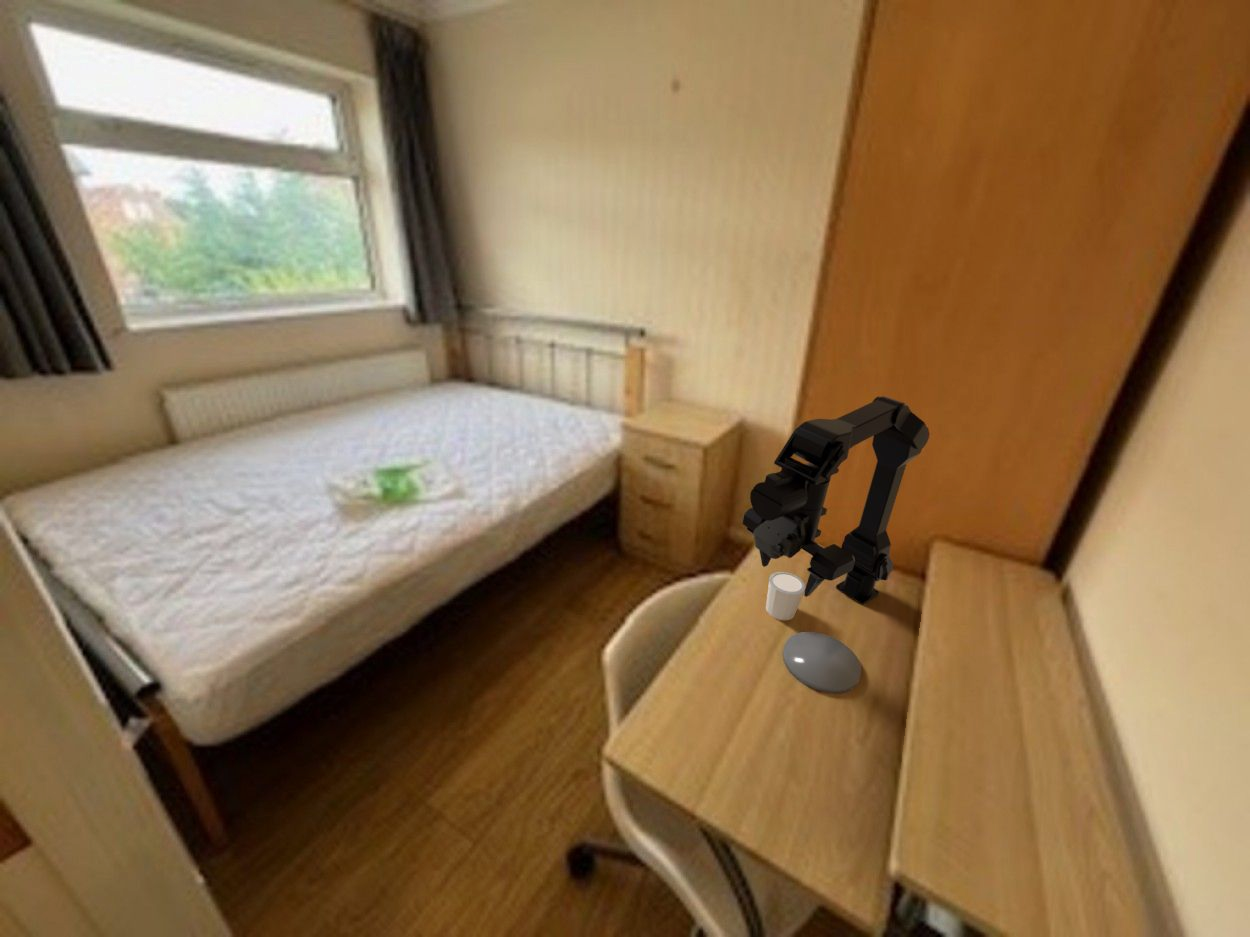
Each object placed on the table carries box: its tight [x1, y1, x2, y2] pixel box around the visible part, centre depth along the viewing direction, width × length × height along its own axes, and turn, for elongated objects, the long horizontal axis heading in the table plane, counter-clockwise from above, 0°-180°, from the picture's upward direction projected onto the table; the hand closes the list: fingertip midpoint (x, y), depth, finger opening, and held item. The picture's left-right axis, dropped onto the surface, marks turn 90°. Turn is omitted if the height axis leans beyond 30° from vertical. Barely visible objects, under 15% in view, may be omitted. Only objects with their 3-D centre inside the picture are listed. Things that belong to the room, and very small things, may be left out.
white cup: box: [765, 571, 806, 621], centre depth 107 cm, size 7×7×7 cm
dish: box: [782, 631, 862, 695], centre depth 96 cm, size 13×13×1 cm
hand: (785, 580), depth 93 cm, fingers open, 9 cm apart
